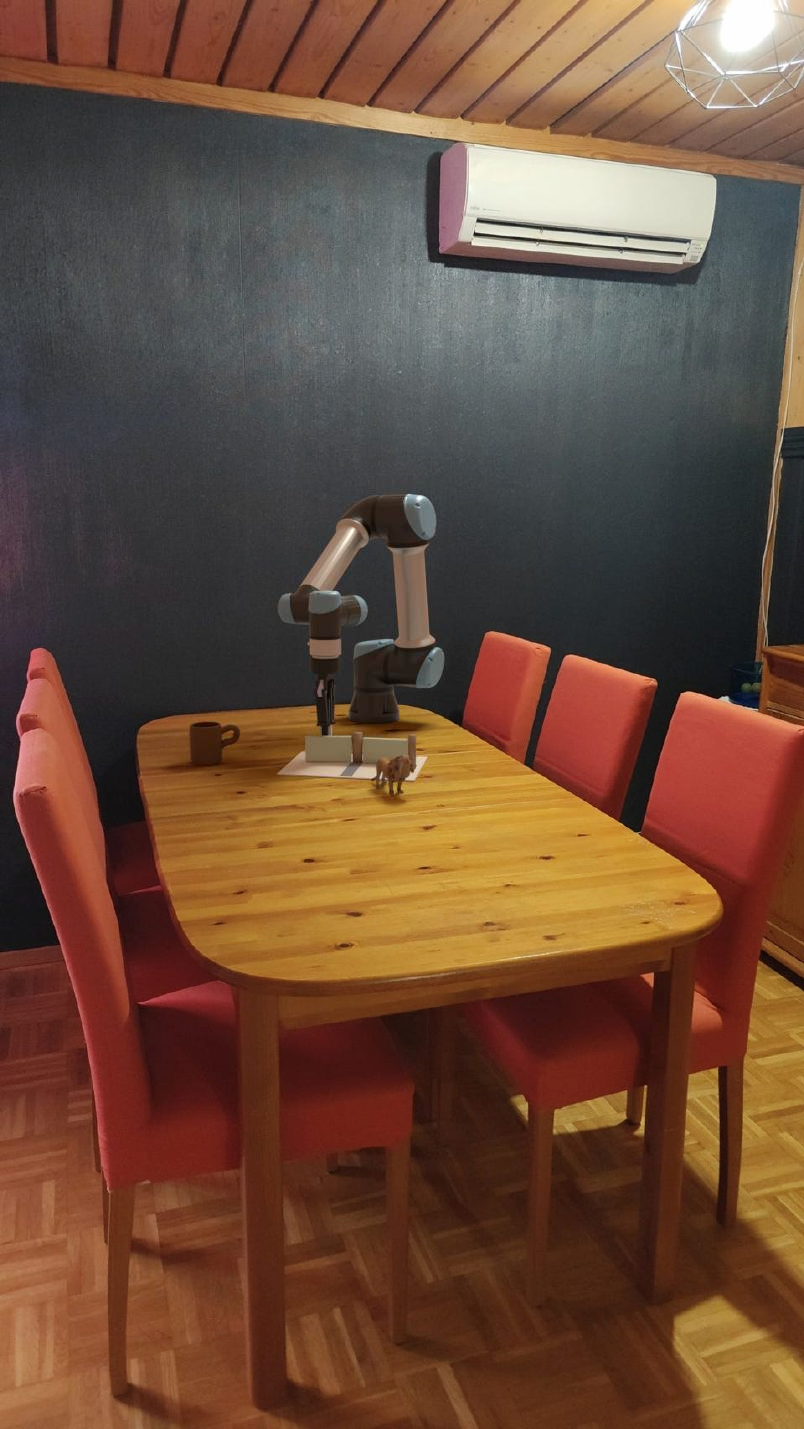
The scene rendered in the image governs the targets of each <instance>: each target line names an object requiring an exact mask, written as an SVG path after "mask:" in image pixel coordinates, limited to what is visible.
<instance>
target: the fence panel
mask: <svg viewBox="0 0 804 1429" xmlns="http://www.w3.org/2000/svg"><path fill="white" fill-rule="evenodd" d="M304 741H305V743H304V745H305V746H304V748H305V749H304V751H305V760H306V761H351V760H352V756H351V753H352V735H332V736H320V735H305V736H304Z"/></svg>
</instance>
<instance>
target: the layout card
mask: <svg viewBox="0 0 804 1429" xmlns="http://www.w3.org/2000/svg"><path fill="white" fill-rule="evenodd" d="M351 756H352V760H351V761H306V760H305V750H304V751H301V752H299V753H298V754H297V755H296V756H295V757H294V758H293V759H292V760H290V762H289V763H288V764H286V765H285V766H283V768H281V770H280V771H278V772H277V773H276V776H287V777H289V776H291V777H308V778H309V777H310V778H311V777H312V778H313V777H314V778H327V779H328V778H330V779H332V778H333V779H350V780H352V779H353V780H367V781H368V780H370V781H371V779H372V778H374V777H376V765H377V763H363V762H361V763H354V762H353V752H351ZM428 758H429V756H417V755H416V765H417V766H416V769H415V770H414V773H411V772H410V775H409V776H408V777H407V778H406V779H405V781H404V782H409V783H410V782H412V783H414V782H415V781H416V780H417V778H418V776H419V774H420V772H421V770H422V768H423V767H424V765H425V764H426V761H427V760H428ZM362 759H363V753H362ZM382 774H383V773H382V772H381V775H380V779H379V780H380V781H381V779H382ZM385 781H388V779H387V778H385Z"/></svg>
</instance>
